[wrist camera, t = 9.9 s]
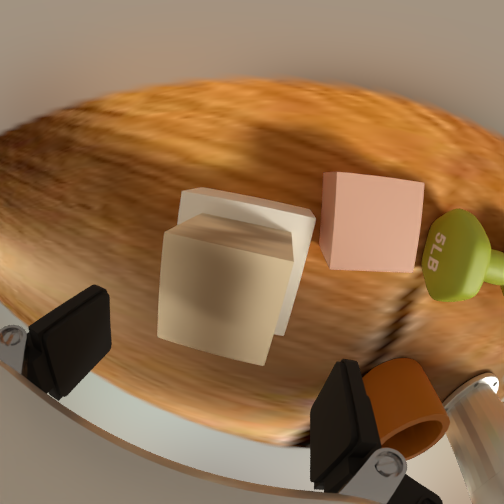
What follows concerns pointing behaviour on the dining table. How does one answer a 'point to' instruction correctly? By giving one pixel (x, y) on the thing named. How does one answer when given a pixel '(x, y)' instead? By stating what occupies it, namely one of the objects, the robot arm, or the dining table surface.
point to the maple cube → (223, 286)
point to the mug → (405, 407)
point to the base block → (259, 214)
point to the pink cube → (370, 222)
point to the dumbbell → (459, 258)
